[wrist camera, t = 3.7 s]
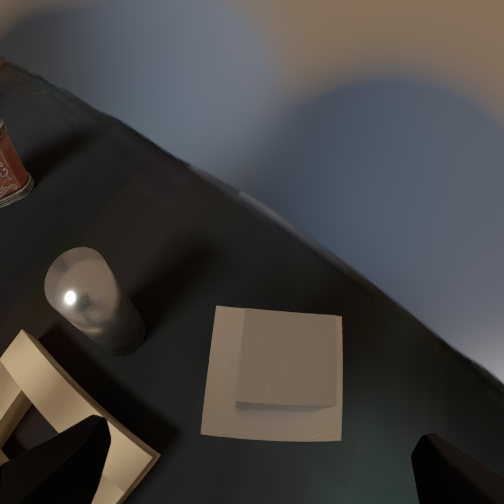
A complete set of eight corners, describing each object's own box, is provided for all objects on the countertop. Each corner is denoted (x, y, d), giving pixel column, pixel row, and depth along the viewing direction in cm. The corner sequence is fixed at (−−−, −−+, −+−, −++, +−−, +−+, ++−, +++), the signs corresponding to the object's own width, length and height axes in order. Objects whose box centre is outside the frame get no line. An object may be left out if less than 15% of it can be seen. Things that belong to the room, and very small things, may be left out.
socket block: (161, 455, 14) (152, 457, 13) (72, 561, 9) (58, 569, 7) (37, 339, 17) (22, 329, 15) (-33, 442, 12) (-51, 439, 10)
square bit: (283, 437, 15) (371, 440, 5) (218, 432, 15) (190, 434, 5) (287, 377, 17) (366, 285, 7) (224, 371, 17) (212, 271, 7)
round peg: (155, 326, 18) (121, 271, 13) (124, 366, 17) (73, 328, 11) (119, 298, 19) (78, 236, 13) (88, 335, 18) (33, 285, 12)
